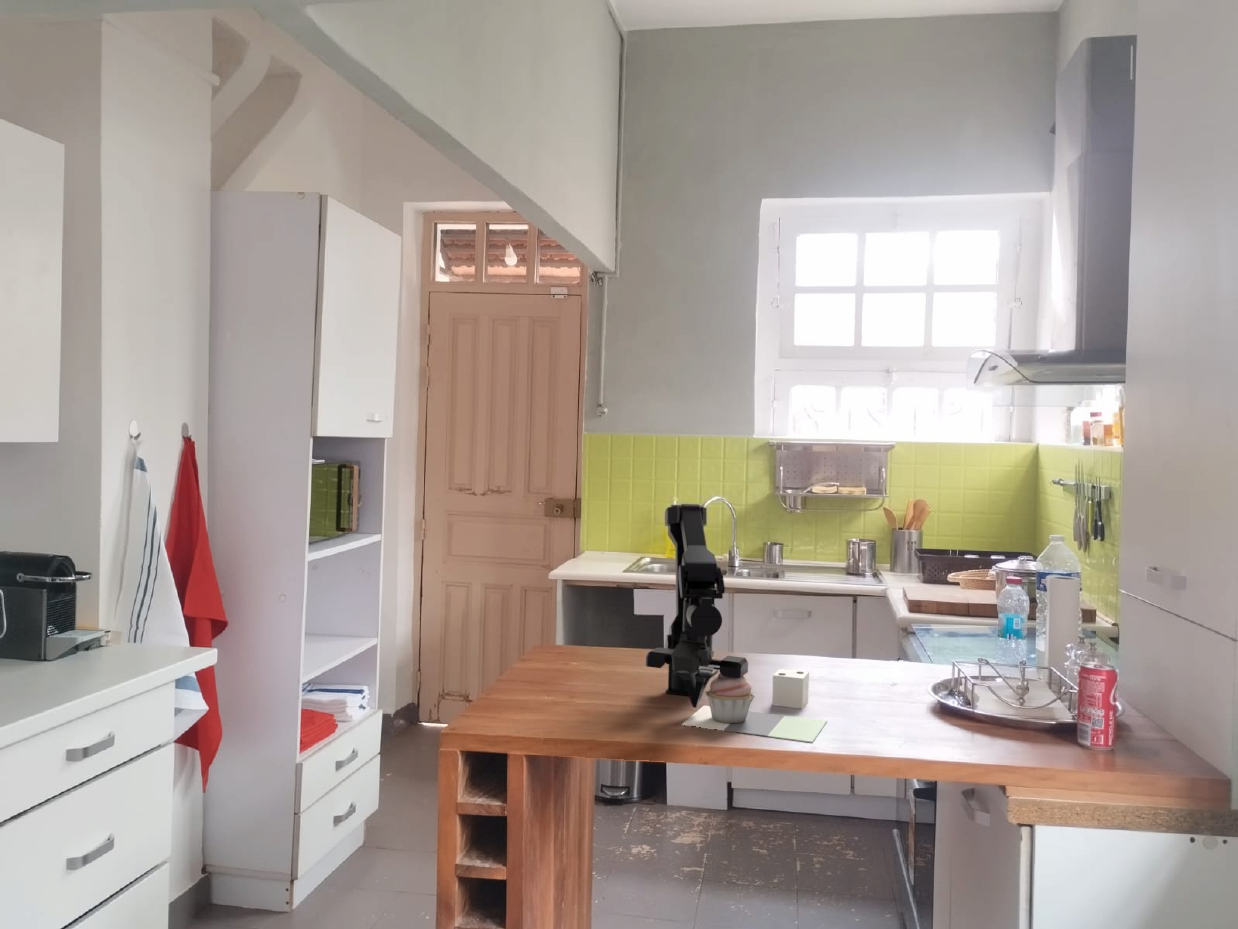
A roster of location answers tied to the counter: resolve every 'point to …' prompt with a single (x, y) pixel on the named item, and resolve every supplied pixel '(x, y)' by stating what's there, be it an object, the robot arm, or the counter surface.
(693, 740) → the counter surface
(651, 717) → the counter surface
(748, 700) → the cupcake
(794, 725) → the game board
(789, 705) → the white cube
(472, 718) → the counter surface
